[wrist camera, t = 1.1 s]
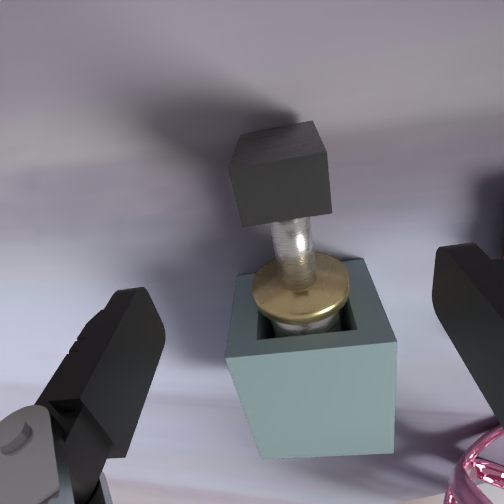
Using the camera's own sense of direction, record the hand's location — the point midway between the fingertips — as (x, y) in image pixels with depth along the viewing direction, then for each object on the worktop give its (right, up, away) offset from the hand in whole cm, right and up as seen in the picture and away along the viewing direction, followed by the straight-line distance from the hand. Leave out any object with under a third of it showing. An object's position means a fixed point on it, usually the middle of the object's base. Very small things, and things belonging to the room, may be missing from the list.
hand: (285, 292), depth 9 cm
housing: (+4, -5, +20) cm, 21 cm away
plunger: (+2, +1, +15) cm, 16 cm away
